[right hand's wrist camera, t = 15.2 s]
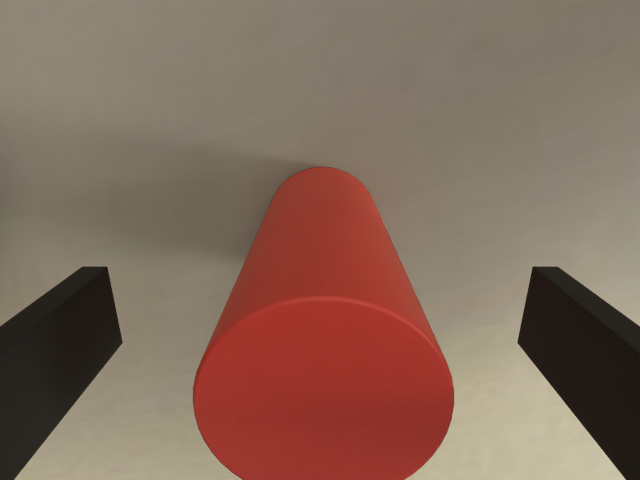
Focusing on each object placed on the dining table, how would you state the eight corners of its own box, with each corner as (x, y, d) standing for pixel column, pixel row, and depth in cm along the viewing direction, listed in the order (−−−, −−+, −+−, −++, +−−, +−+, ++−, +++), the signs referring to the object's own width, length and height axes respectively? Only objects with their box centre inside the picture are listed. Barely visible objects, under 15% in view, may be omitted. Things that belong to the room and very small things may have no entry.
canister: (289, 280, 21) (249, 524, 9) (252, 186, 19) (144, 341, 7) (387, 252, 20) (477, 474, 9) (359, 151, 18) (423, 261, 7)
